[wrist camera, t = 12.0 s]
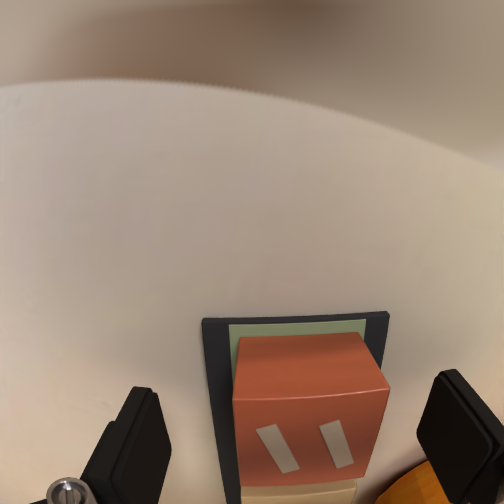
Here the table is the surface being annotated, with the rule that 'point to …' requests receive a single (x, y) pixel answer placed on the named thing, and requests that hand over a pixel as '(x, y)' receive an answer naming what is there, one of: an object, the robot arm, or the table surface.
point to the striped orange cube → (306, 408)
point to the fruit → (415, 488)
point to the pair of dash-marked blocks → (301, 493)
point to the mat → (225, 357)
